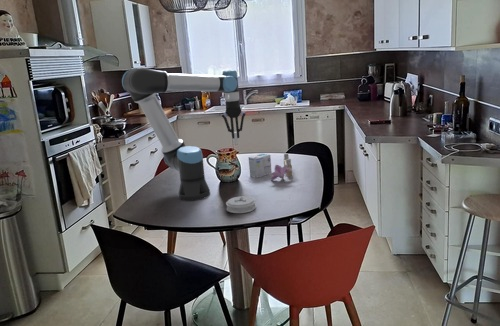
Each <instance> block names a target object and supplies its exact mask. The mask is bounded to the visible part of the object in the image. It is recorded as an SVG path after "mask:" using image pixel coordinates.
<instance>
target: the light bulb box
mask: <svg viewBox="0 0 500 326" xmlns="http://www.w3.org/2000/svg"><path fill="white" fill-rule="evenodd" d="M247 158H248V166H249V176H250V177H253V178H260V177H264V176H267V175H269V174H271V173H273V172H272V160H271V154H268V153H259V154H256V155H252V156H248V157H247Z"/></svg>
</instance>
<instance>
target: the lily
mask: <svg viewBox="0 0 500 326" xmlns="http://www.w3.org/2000/svg"><path fill="white" fill-rule="evenodd" d="M287 166H288V165H285V166H284V165H283V167H282V166H281V165H279V164H275V165H274V171H273V172H272V173H271V174H268V175H269V176H271V179H270V181H274V180H275V179H277V178H280V179H281V180H282V181H283V183H284V184H285V183H286V182H285V175H286V173H287V172H289V171H291V170H292V171H293V168H292V169H288V168H287Z"/></svg>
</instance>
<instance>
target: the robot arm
mask: <svg viewBox="0 0 500 326" xmlns="http://www.w3.org/2000/svg"><path fill="white" fill-rule="evenodd" d="M121 84H122V87H123V90H124V91H125V92H126V93H128V94H129V95H130V97H131V98H132V101H133V102H134V103H136V104H138V105H139V107H140V108H141V110H142V112H143V113H144V115H145V117H146V119H147V121H148V123H149V124H150V127H151V128H152V130H153V132H154V134H155V135H156V137H157V138H158V141H159V143H160V144H161V146H162V147H161V154H163V160H164V163H165V164H166V166H168V167H169V168H170V169H172V170H175V171H178V172H179V179H180V183H179V188H178V193H177V194H178V195H177V196H178V199H179V200H181V201H185V202H187V201H189V202H193V201H199V200H203V199H206V198H208V197H210V195H211V191H210V187H209V186H208V183H207V180H206V178H205V177H206V176H205V168H204V167H205V165H204V155H203V151H202V149H201V148H199V147H198V146H193V145H188V146H187V145H186V143H185V142H184V139H181V138H179V136H178V135H177V134H176V132H175V129H174V128H173V126H172V124H171V122H170V120H169V118H168V116H167V115H166V113H165V110H163V109H164V108H163V107H162V105H161V103H160V101H159V99H158V97H157V94H164V93H165V94H166V93H167V92H169V91H170V92H171V91H173V92H174V91H176V92H177V91H178V92H205V93H211V92H224V100H225V112H224V113H222V114H221V117H222V119H223V120H224V123H225V126H226V129H227V132H229V133H231V138H232V139H234V145H235V146H238V145H239V140H238V139H239V138H240V132H242V131H243V127H244V126H243V125H244V119H245V116H246V113H247V112H244V111H242V108H241V101H240V91H239V77H238V71H237V70H236V69H232V70H230V69H229V70H223V71H222V74H221V75H215V74H214V75H213V74H193V73H192V74H191V73H190V74H189V73H168V72H167V71H166V70H156V69H151V68H147V67H139V68H137V67H133V68H129V69H128V70H126V71H125V72H124V74H123V75H122V78H121ZM240 115H241V117H240V125H239V116H240ZM227 117H228V118H230V123H229V121H228V119H227ZM234 119H235V127H234ZM230 127H231V128H230ZM235 130H236V131H235Z"/></svg>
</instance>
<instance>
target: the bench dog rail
mask: <svg viewBox="0 0 500 326" xmlns="http://www.w3.org/2000/svg"><path fill="white" fill-rule="evenodd" d="M285 165H288V166H287V168H288V169H292V170H291V171H289V172H287V173H285V176H286V177H289V178H290V177H293V164H292V159H291V158H290V157H289V153H286V152H285V153H283V167H284V166H285Z"/></svg>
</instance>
